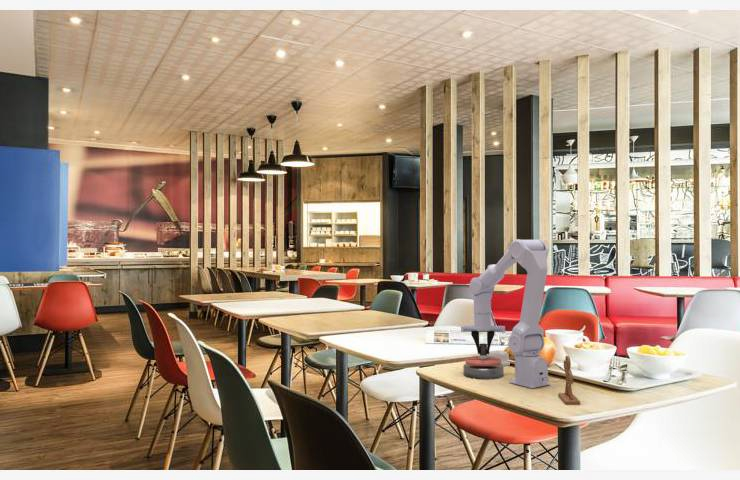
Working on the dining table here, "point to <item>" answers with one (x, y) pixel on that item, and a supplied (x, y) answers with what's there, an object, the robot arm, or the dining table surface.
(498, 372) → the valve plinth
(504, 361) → the mechanical component
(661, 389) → the dining table surface
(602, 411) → the dining table surface
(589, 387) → the dining table surface
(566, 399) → the brown statuette
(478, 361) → the handwheel
